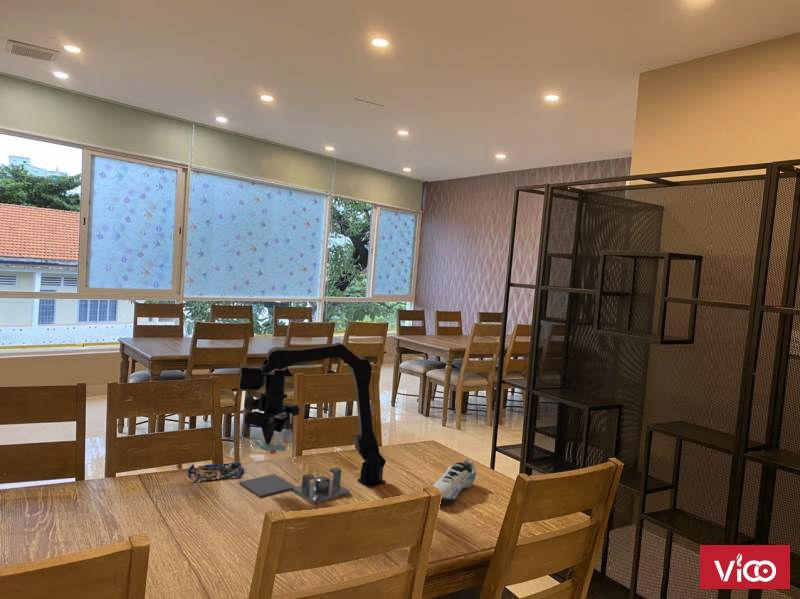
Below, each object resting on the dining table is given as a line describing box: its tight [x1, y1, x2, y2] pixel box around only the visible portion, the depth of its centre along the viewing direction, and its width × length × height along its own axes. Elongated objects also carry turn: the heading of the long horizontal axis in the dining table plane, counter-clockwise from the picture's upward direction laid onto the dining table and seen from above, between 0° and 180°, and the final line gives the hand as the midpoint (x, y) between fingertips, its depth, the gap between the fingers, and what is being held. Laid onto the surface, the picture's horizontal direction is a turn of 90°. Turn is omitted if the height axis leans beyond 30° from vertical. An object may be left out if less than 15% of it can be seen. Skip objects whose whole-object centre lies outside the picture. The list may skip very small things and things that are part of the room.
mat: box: [239, 473, 297, 498], centre depth 168 cm, size 12×12×1 cm
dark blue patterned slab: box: [187, 460, 245, 484], centre depth 175 cm, size 16×12×2 cm
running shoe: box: [432, 458, 477, 503], centre depth 173 cm, size 9×25×9 cm, turn 151°
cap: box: [255, 430, 287, 452], centre depth 167 cm, size 10×6×5 cm, turn 66°
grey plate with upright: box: [291, 467, 351, 505], centre depth 166 cm, size 13×11×6 cm
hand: (270, 442), depth 167 cm, fingers closed on cap, 2 cm apart
